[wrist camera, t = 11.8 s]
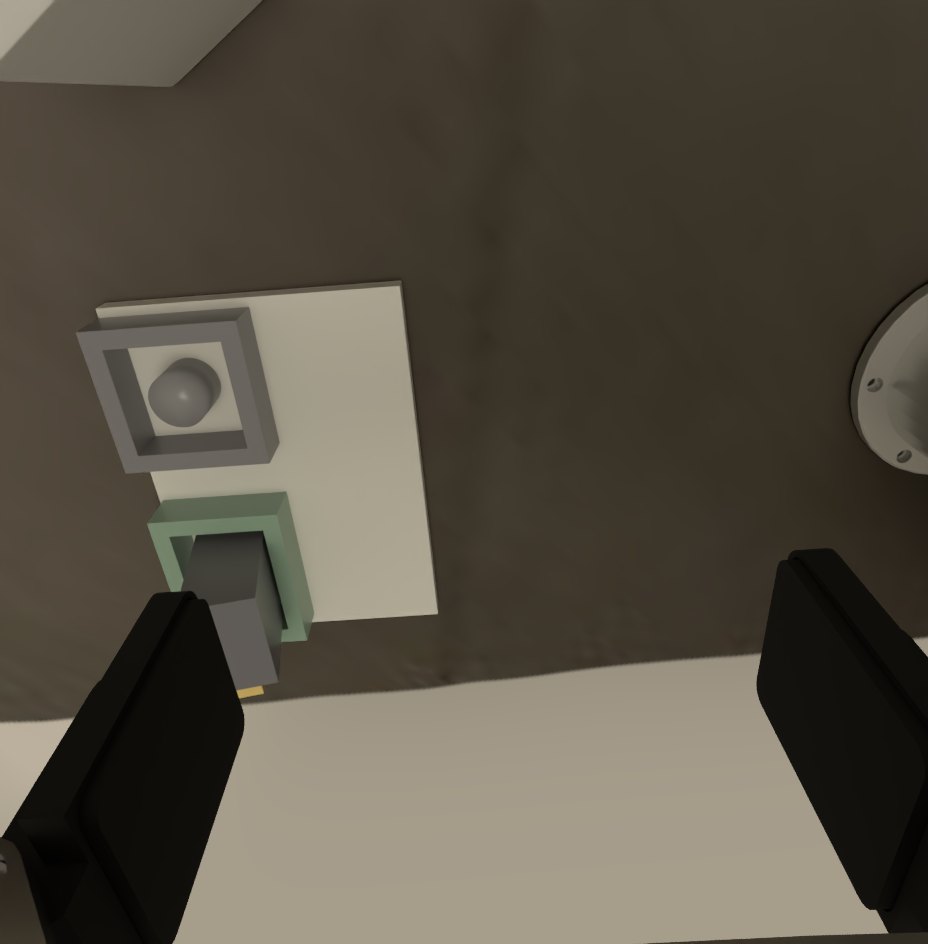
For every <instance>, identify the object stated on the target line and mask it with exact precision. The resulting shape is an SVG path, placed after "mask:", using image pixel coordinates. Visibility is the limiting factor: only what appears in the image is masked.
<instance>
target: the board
mask: <svg viewBox="0 0 928 944" xmlns="http://www.w3.org/2000/svg"><path fill="white" fill-rule="evenodd" d="M96 312H97V315H98V319H96V320H95V321H93V322H92V323H90V324H88V325H87V326H85V327H84V328H82V329H80V330H79V331H77V332H76V335H77V338H78V341H79V343H80V346H81V349H82V352H83V355H84V358H85V360H86V363H87V366H88V369H89V372H90V374H91V377H92V380H93V383H94V386H95V388H96V391H97V394H98V397H99V400H100V403H101V405H102V408H103V411H104V414H105V417H106V419H107V422H108V425H109V428H110V431H111V433H112V436H113V439H114V442H115V445H116V448H117V450H118V453H119V456H120V459H121V462H122V464H123V467H124V470H125V473H126V474H127V473H141V472H150V473H151V476H152V479H153V482H154V485H155V488H156V491H157V494H158V497H159V500H160V503H162V502H163V500H172V499H186V498H201V497H215V496H230V495H245V494H259V493H274V492H287V496H288V500H289V505H290V509H291V514H292V518H293V522H294V527H295V531H296V535H297V540H298V544H299V549H300V553H301V557H302V562H303V566H304V570H305V575H306V579H307V584H308V588H309V592H310V597H311V601H312V605H313V610H314V616H313V620H312V622H322V621H337V620H353V619H368V618H383V617H399V616H414V615H430V614H438V597H437V588H436V579H435V570H434V562H433V553H432V544H431V535H430V527H429V518H428V509H427V500H426V492H425V483H424V474H423V465H422V457H421V448H420V439H419V430H418V422H417V413H416V404H415V395H414V387H413V378H412V369H411V360H410V352H409V343H408V334H407V325H406V317H405V308H404V299H403V290H402V282H401V280H399V281H386V282H373V283H360V284H346V285H333V286H320V287H307V288H293V289H280V290H267V291H254V292H240V293H227V294H214V295H201V296H187V297H174V298H161V299H148V300H134V301H121V302H108V303H104V304H103V305H101V306H99V307H98V308H96ZM195 537H196V535H192V538H193V541H194V540H195Z"/></svg>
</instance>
